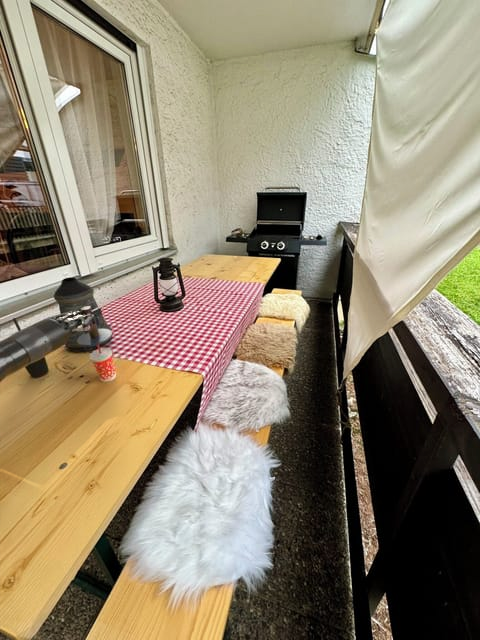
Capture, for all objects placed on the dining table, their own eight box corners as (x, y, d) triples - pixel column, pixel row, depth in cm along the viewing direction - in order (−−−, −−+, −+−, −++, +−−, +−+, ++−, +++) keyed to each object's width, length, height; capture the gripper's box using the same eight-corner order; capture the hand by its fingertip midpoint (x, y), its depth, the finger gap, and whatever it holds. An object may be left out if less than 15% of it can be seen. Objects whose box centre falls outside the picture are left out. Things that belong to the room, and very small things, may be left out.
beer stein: (89, 357, 91) (66, 291, 79) (49, 348, 97) (22, 284, 85) (122, 334, 105) (106, 274, 93) (85, 327, 111) (66, 270, 99)
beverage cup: (97, 374, 83) (84, 337, 76) (118, 368, 85) (107, 332, 79) (97, 386, 78) (83, 347, 71) (119, 380, 80) (107, 342, 74)
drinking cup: (58, 370, 85) (35, 316, 76) (32, 384, 79) (4, 327, 70) (46, 363, 88) (22, 310, 79) (21, 375, 83) (-8, 321, 73)
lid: (70, 343, 72) (58, 312, 68) (95, 328, 80) (86, 299, 75) (95, 348, 70) (85, 317, 65) (119, 332, 77) (111, 303, 73)
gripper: (54, 331, 55) (112, 300, 70) (9, 322, 59) (73, 295, 74) (65, 359, 59) (119, 324, 73) (22, 349, 63) (81, 318, 77)
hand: (96, 310), depth 74 cm, fingers closed on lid, 2 cm apart
